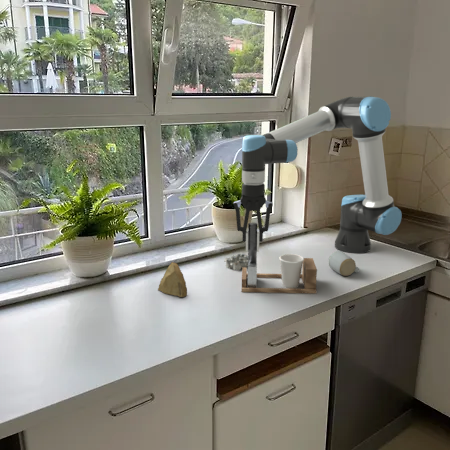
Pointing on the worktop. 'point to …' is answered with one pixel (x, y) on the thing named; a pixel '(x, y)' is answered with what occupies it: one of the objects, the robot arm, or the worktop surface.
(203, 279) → the worktop surface
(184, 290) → the rock
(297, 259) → the dixie cup
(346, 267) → the ceramic mug
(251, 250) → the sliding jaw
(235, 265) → the egg carton
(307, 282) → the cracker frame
